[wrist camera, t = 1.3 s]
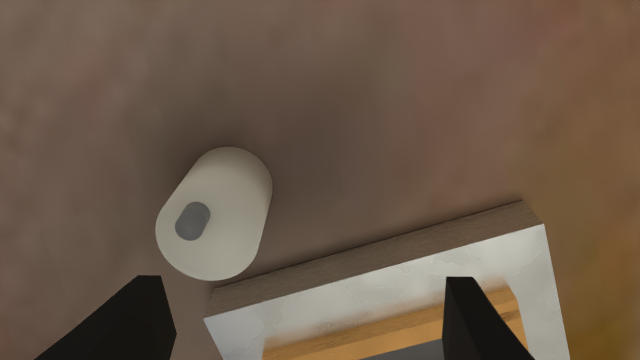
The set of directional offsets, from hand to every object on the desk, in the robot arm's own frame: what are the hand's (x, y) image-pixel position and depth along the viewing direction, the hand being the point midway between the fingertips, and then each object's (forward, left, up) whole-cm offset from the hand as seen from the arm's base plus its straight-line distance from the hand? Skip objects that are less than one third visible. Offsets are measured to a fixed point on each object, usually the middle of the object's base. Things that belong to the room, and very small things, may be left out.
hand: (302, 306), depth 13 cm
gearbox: (+1, -12, -11) cm, 17 cm away
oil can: (-4, 0, -11) cm, 12 cm away
